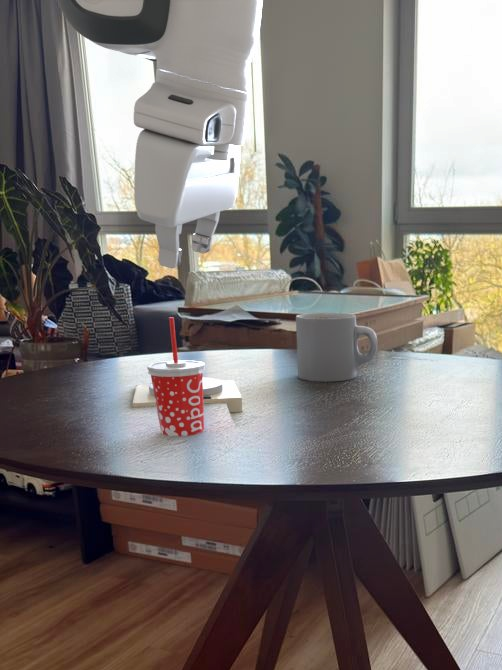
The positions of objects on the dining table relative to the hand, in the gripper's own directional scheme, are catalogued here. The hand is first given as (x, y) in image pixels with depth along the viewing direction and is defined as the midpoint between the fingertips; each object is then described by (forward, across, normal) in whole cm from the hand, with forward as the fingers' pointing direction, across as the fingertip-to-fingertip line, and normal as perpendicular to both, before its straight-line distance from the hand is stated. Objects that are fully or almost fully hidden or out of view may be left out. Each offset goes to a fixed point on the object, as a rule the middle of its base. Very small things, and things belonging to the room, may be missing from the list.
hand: (185, 258), depth 77 cm
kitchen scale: (+24, -15, -3) cm, 28 cm away
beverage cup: (+20, +4, +4) cm, 20 cm away
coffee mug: (+22, -40, +15) cm, 48 cm away
